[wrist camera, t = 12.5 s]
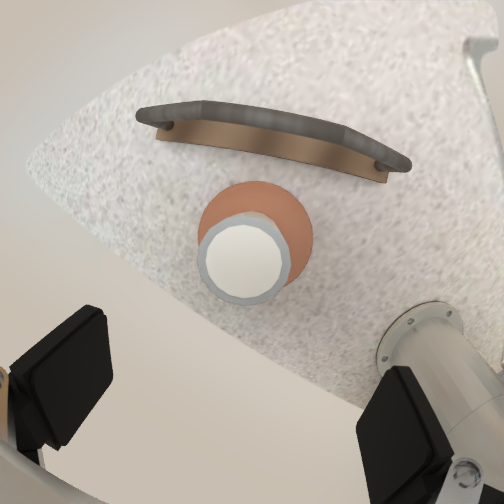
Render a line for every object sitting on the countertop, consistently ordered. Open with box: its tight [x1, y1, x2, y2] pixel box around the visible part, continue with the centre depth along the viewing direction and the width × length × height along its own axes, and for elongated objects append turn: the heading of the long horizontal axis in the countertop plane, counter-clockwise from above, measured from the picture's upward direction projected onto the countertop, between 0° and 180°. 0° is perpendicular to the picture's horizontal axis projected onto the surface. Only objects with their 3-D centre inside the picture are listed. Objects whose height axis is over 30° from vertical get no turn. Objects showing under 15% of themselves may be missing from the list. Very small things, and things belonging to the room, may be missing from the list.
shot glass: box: [197, 211, 291, 306], centre depth 24 cm, size 7×7×7 cm
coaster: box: [198, 181, 313, 287], centre depth 28 cm, size 11×11×1 cm
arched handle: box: [135, 100, 412, 183], centre depth 20 cm, size 22×3×12 cm, turn 79°
